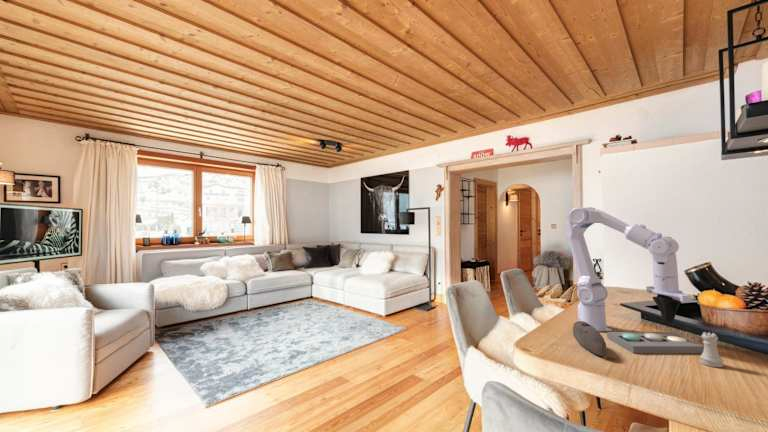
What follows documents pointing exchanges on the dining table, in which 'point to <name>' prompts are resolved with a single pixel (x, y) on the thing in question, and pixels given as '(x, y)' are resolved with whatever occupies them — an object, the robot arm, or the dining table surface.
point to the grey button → (653, 337)
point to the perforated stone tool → (589, 338)
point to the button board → (656, 343)
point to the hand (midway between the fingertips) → (668, 320)
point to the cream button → (677, 339)
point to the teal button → (631, 337)
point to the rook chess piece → (711, 351)
